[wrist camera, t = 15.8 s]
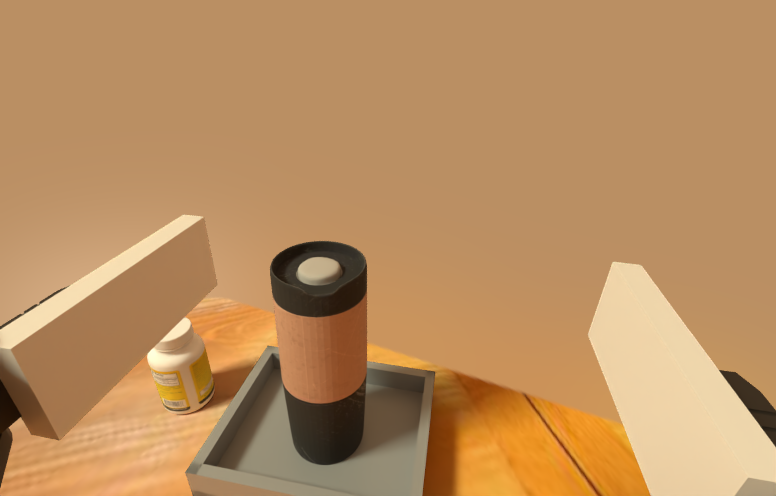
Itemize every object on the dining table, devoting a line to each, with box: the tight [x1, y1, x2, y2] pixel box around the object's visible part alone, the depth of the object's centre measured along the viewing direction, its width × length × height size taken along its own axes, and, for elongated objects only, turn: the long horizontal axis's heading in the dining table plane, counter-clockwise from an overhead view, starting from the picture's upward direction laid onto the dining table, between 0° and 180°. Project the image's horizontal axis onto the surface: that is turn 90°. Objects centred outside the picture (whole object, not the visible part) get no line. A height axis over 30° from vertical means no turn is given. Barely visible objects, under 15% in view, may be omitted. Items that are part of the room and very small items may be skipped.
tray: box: [185, 346, 435, 496], centre depth 40 cm, size 20×16×4 cm
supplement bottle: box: [148, 317, 215, 414], centre depth 43 cm, size 5×5×10 cm
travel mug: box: [270, 241, 367, 465], centre depth 36 cm, size 8×8×20 cm
